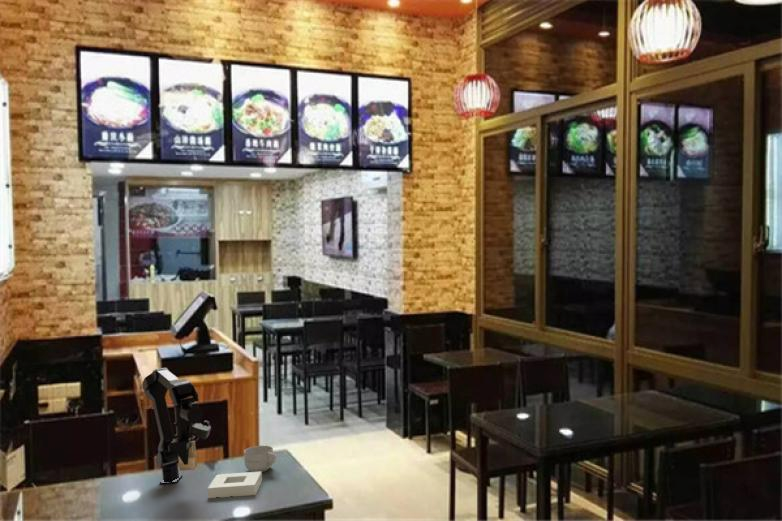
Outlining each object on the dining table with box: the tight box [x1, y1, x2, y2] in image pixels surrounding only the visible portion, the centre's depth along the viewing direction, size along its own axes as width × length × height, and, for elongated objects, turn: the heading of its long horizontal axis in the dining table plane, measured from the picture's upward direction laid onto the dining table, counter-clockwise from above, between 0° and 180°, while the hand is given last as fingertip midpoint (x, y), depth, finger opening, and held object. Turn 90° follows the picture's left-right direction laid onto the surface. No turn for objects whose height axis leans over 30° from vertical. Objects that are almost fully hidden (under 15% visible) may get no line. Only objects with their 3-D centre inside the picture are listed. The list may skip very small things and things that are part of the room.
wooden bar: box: [178, 441, 198, 472], centre depth 217 cm, size 4×5×9 cm
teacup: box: [243, 445, 277, 473], centre depth 234 cm, size 14×11×8 cm
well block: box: [207, 471, 263, 499], centre depth 218 cm, size 12×16×4 cm
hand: (187, 462), depth 217 cm, fingers closed on wooden bar, 3 cm apart
